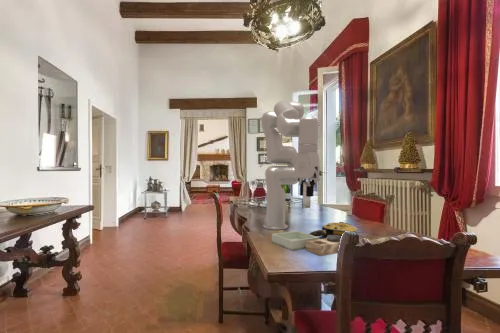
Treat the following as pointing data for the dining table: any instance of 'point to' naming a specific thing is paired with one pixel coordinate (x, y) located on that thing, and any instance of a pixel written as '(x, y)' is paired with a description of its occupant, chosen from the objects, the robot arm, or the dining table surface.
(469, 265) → the dining table surface
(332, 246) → the tan base block
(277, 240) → the tray
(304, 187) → the lock pin
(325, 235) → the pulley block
